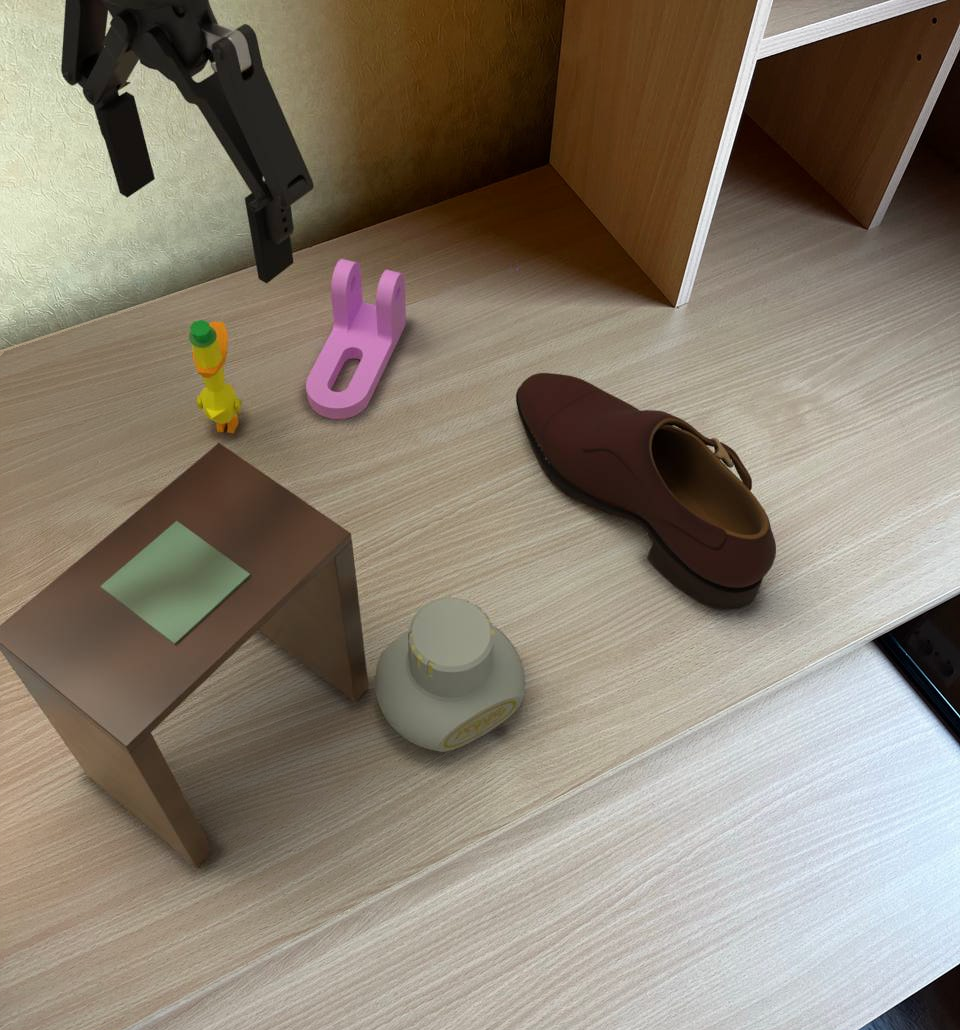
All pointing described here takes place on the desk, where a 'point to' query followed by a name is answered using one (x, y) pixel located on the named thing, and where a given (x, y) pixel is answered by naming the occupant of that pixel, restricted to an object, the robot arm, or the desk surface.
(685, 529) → the dress shoe
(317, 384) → the bracket
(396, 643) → the air freshener
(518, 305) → the desk surface
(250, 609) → the shelf
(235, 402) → the toy figure
